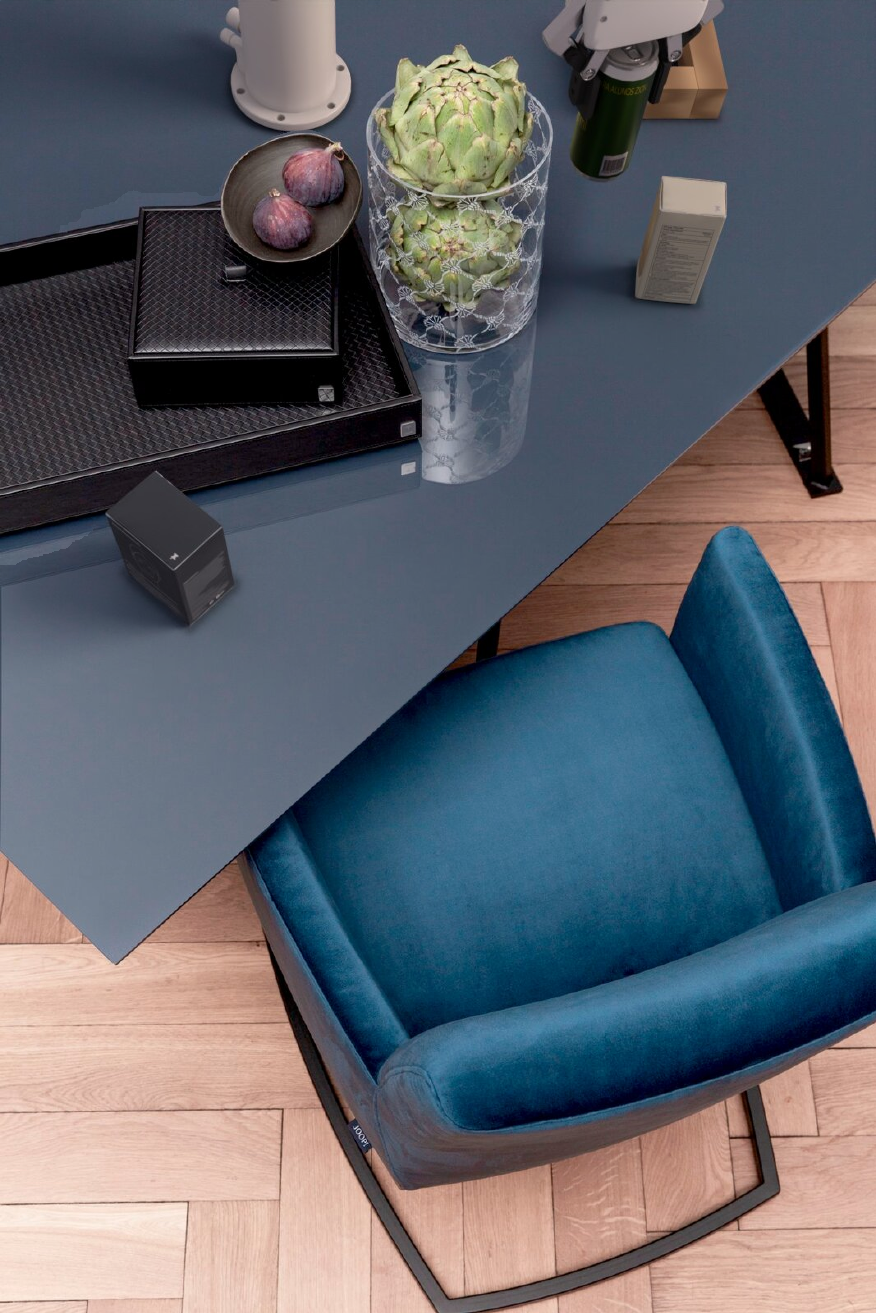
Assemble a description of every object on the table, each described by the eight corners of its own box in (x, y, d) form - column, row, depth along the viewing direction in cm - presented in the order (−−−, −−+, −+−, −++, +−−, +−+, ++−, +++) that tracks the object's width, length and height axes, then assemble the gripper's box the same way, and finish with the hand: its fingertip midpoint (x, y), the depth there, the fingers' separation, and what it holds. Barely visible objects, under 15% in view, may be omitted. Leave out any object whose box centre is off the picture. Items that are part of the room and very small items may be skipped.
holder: (605, 119, 130) (613, 88, 126) (592, 36, 134) (598, 4, 131) (717, 119, 131) (728, 88, 127) (700, 37, 135) (709, 5, 132)
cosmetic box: (696, 272, 122) (730, 181, 111) (695, 306, 120) (730, 218, 109) (633, 264, 122) (661, 172, 111) (631, 298, 120) (660, 209, 109)
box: (236, 585, 105) (224, 525, 96) (189, 628, 103) (172, 572, 94) (173, 531, 107) (154, 467, 97) (125, 573, 105) (102, 512, 95)
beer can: (640, 173, 105) (675, 58, 94) (587, 193, 104) (616, 78, 93) (608, 130, 107) (639, 12, 96) (556, 149, 106) (581, 32, 95)
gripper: (755, -170, 86) (688, 47, 102) (533, -129, 82) (501, 88, 99) (802, -99, 83) (725, 111, 100) (575, -55, 80) (535, 155, 96)
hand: (614, 97), depth 99 cm, fingers closed on beer can, 5 cm apart
